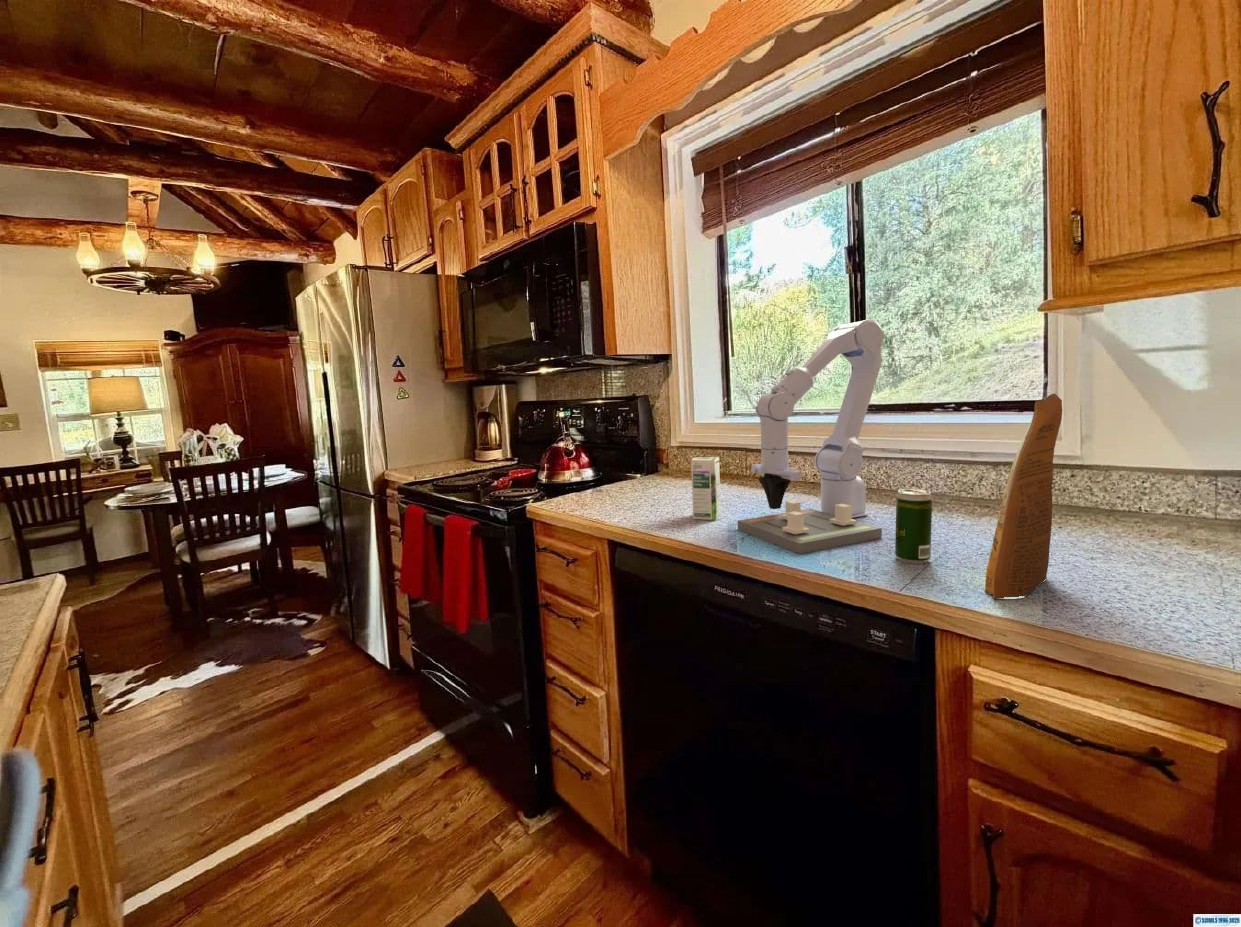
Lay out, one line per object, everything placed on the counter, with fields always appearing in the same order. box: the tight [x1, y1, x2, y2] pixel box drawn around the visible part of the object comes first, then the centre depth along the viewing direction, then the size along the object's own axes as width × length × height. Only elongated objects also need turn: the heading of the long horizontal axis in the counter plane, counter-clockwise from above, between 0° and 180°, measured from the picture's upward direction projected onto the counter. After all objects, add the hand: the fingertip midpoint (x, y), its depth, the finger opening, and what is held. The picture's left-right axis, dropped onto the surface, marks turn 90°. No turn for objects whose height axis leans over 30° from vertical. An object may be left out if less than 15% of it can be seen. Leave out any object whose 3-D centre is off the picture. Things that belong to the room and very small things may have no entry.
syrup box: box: [690, 456, 721, 521], centre depth 128 cm, size 6×6×14 cm
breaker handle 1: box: [782, 511, 809, 534], centre depth 105 cm, size 4×4×4 cm
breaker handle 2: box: [830, 504, 858, 526], centre depth 110 cm, size 4×4×4 cm
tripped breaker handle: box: [781, 499, 806, 520], centre depth 115 cm, size 4×4×4 cm
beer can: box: [894, 488, 933, 565], centre depth 92 cm, size 5×5×12 cm
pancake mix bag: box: [984, 393, 1063, 599], centre depth 77 cm, size 7×19×28 cm, turn 128°
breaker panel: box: [737, 508, 883, 555], centre depth 112 cm, size 20×20×2 cm
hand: (775, 508), depth 121 cm, fingers closed
